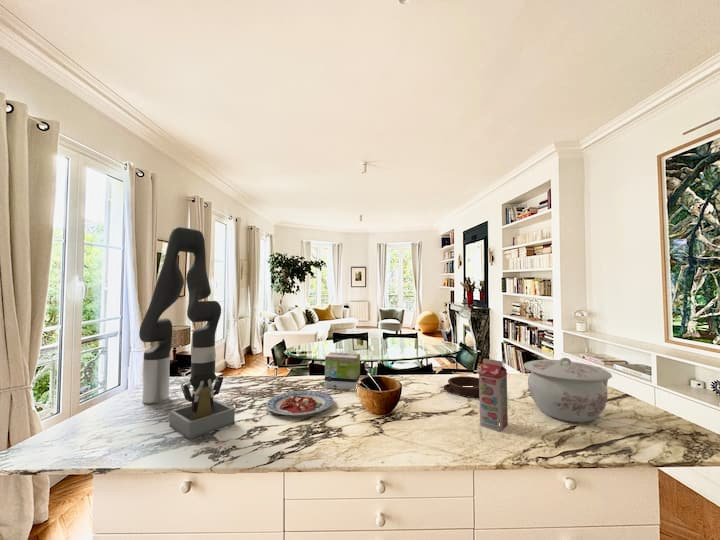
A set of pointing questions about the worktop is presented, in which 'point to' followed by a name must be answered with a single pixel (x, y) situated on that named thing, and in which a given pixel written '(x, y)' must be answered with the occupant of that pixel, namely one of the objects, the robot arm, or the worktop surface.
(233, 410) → the bin
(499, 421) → the juice carton
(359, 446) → the worktop surface
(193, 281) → the robot arm
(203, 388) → the cork
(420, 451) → the worktop surface
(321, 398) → the ceramic plate
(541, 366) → the chamber pot
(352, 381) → the tea box
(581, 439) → the worktop surface
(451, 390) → the dish
